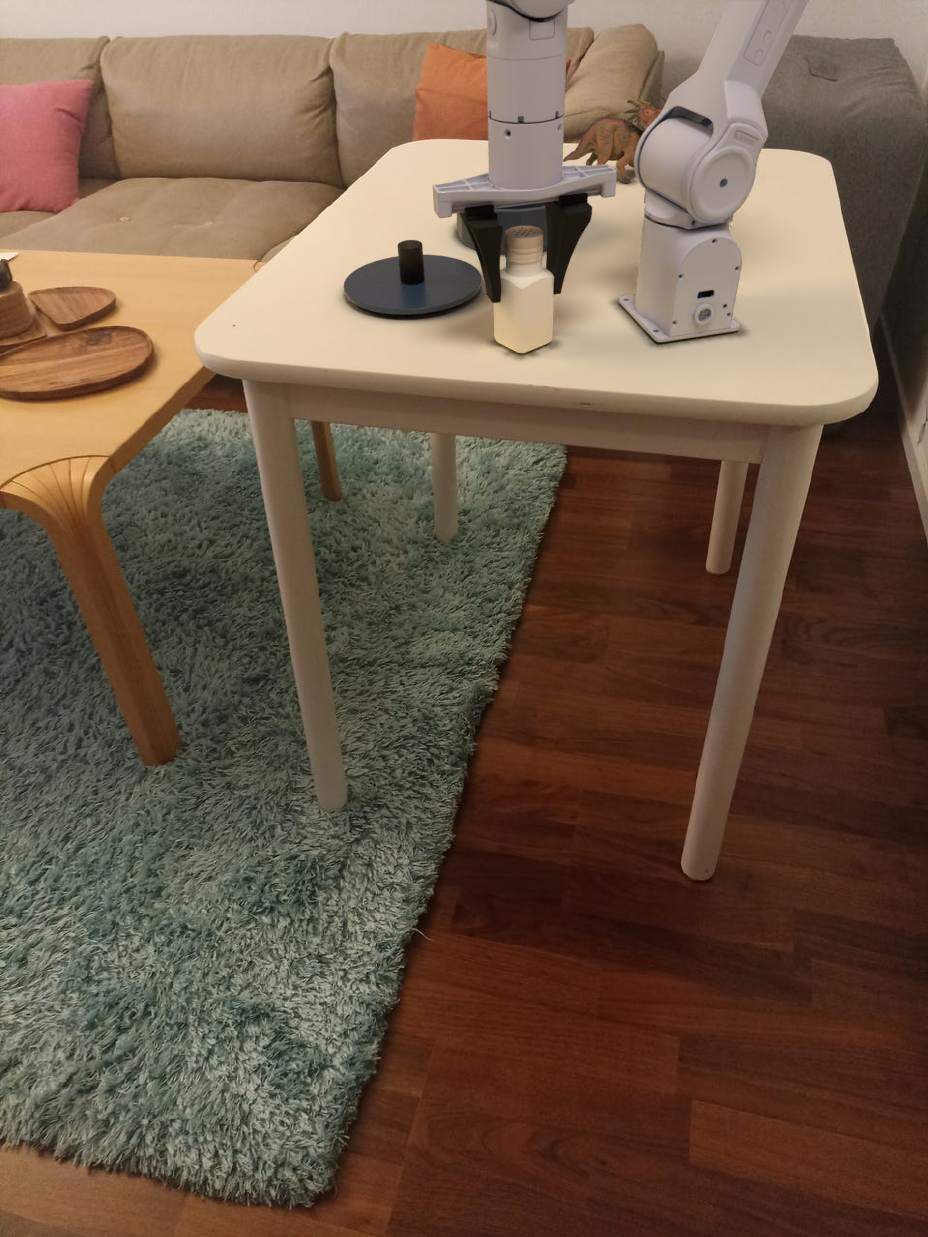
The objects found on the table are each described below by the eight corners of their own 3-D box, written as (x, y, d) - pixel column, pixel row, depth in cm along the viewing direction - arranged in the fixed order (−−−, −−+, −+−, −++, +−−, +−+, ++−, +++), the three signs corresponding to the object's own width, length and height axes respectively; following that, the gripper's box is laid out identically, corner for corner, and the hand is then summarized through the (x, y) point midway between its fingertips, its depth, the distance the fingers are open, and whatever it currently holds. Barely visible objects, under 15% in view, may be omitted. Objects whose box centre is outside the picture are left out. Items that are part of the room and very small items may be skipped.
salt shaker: (525, 328, 78) (526, 219, 72) (555, 343, 76) (559, 231, 69) (491, 342, 76) (489, 231, 70) (521, 357, 74) (521, 244, 68)
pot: (586, 246, 93) (589, 202, 90) (474, 260, 91) (473, 217, 88) (550, 209, 102) (551, 168, 99) (447, 221, 100) (445, 181, 97)
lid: (497, 309, 82) (497, 260, 78) (356, 329, 80) (349, 279, 76) (463, 257, 91) (461, 212, 88) (336, 274, 89) (330, 228, 86)
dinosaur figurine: (669, 169, 111) (679, 87, 104) (671, 184, 107) (682, 99, 100) (563, 169, 112) (567, 88, 106) (561, 183, 108) (564, 100, 102)
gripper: (598, 92, 68) (588, 265, 77) (420, 111, 66) (431, 287, 75) (632, 113, 63) (617, 296, 72) (440, 134, 61) (449, 320, 70)
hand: (524, 293), depth 73 cm, fingers closed on salt shaker, 5 cm apart
